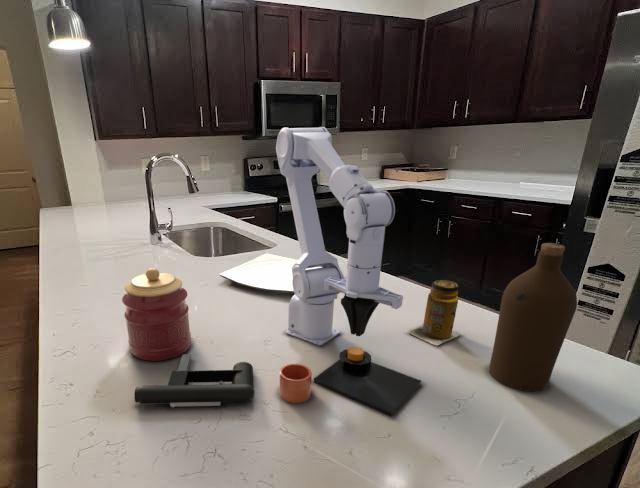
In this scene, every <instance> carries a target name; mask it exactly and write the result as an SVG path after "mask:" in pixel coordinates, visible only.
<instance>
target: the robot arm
mask: <svg viewBox="0 0 640 488" xmlns="http://www.w3.org/2000/svg"><path fill="white" fill-rule="evenodd" d="M275 152H276V157H277V163H278V167H279V172H280V174H281V175H282V176H284V177H285V179H286V185H287V189H288V196H289V199H290V204H291V210H292V214H293V219H294V226H295V230H296V235H297V240H298V245H299V250H300V257H299V258H298V259H296V260H297V261H296V263H295V264H294V265H293V267H292V275H293V279H292V286H293V290H294V293H293V294H294V295H292V297H291V299H290V301H289V304H288V318H287V319H288V321H287V322H288V323H287V325H288V326H287V330H286V331H285V333H286V334H287V335H290V336H292V337H295V338H298V339H300V340H304V341H306V342H309V343H311V344H315V345H317V346H319V347H320V346H321V347H322V346H323V345H324V344H327V342H329V341H331V340H332V339H334V338H335V337H336V336H338V335H339V334H340V333H341V332H340V330H338V329H335V328H333V323H334V321H333V320H334V308H335V307H334V306H335V300H337V299H338V295H339V294H344V295H343V297H342V298H341V299H340V304H341V306H342V307H343V310H344V312H345V314H346V317H347V321H348V324H349V325H348V326H349V330H350V331H349V332H350V334H351V335H353V336H354V335H355V336H356V337H361V336H363V335H364V334H365V333H366V329H367V326H368V323H369V321H370V319H371V317H372V315H373V313H374V312H375V311H376V309H377V307H378V306H379V304H382V305H384V306H385V305H386V306H389V307H391V309H393V310H398V309H400V308H401V307H402V306H403V300H404V295H403V294H400V293H399V294H398V293H396V292H393V291H391V290H389V289H386V288H384V287H381V286H380V279H381V271H382V260H383V253H384V252H383V251H384V242H385V234H386V227H387V226H390V224H392V222H393V220H394V218H395V214H396V205H395V201H394V198H393V197H392V196H391V194H390V192H388V191H386V190H379V189H376V188H374V187H373V185H372V184H371V183H370V182H369V181H368V180H367V178H366V177H364V175H363V174H362V173H361V172H360V169H359V167H358V166H357V165H352V164H345V162H343V160H342V158H341V157H340V155H339V154H338V153H337V150H336V149H335V148H334V147H333V137H332V133H330V132H329V130H328V129H327V128H326V127H324V126H319V127H290V128H289V127H288V126H287V127H282V128H281V129H280V131H279V132H278V134H277V138H276V144H275ZM320 170H321V172H322V173H324V175H325V176H326V177H327V178H328V189H329V190H330V192H331V193H332V194H333V196H334V197H335V199H336V200H337V201H338V202H339V204H340V205H341V207H342V208H343V218H344V222H345V225H346V232H345V233H346V237H347V239H348V248H347V249H348V250H347V263H346V275H345V277H344V273H343V271H342V270H341V267H340V266H339V261H338V258H337V257H336V256H334V255H332V254H331V253H330V252H328V251H327V250H326V246H325V244H324V243H325V242H324V238H323V232H322V227H321V223H320V218H319V217H320V216H319V212H318V207H317V203H316V197H315V193H314V188H313V182H312V178H313V176H314V175H316V174H318V173H319V172H320ZM314 267H322V268H316V269H309V270H306V269H308V268H314Z"/></svg>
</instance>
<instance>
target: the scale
mask: <svg viewBox="0 0 640 488" xmlns="http://www.w3.org/2000/svg"><path fill="white" fill-rule="evenodd" d="M348 349H349V348H346V349H343V350H342V351H340V352H339V357H338V358H339V359H338V360H337V361H335V362H334V363H333V364H332V365H330V366H329V367H328V368H326V369H324V370H323V371H322V372H321V373H319V374H318V375H316V377H313V383H315V384H317V385H318V386H321V387H323V388H325V389H327V390H330V391H332V392H334V393H337V394H340V395H341V396H344V397H345V398H348V399H349V400H352V401H354V402H357V403H359V404H361V405H363V406H366V407H368V408H369V409H373V410H375V411H377V412H379V413H382V414H384V415H386V416H389V417H393V416H394V415H395V414H396V412H397V411H398V410H399V409H400V408H401V407H402V405H403V404H404V403H405V402H406V401H407V400H408V399H409V398H410V397H411V396H412V395H413V394H414V393H415V392H416V391H417V389H418V388H419V387H421V383H422V380H421V379H418V378H415V377H412V376H411V375H408V374H405V373H401V372H399V371H396V370H394V369H391V368H388V367H385V366H383V365H380V364H378V363H376V362H375V363H374V362H372V354H370V353H369V352H367V351H365V350H364V357H363V360H361V361H352V360H350V359H348V358H347V355H348Z"/></svg>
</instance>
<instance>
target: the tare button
mask: <svg viewBox="0 0 640 488" xmlns="http://www.w3.org/2000/svg"><path fill="white" fill-rule="evenodd" d="M347 349H348V355H347V358H348V359H350V360H352V361H361V360H363V357H364V351H365V350H364V349H363V348H362V347H358V346H352V347H349V348H347Z"/></svg>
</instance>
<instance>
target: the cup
mask: <svg viewBox="0 0 640 488" xmlns="http://www.w3.org/2000/svg"><path fill="white" fill-rule="evenodd" d="M312 375H313V372H312V370H311V369H310V368H309V367H308V366H306V365H304V364H301V363H289V364H286V365H285V364H284V365H283V366H282V367H281V368H280V370H279V377H278V378H279V379H278V380H279V386H278V387H279V389H278V390H279V396H280V398H281V399H282V400H283V401H286V402H288V403H292V404H299V403H304V402H307V401H308V400H309V399H310V398H311V393H312V377H313V376H312Z"/></svg>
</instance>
